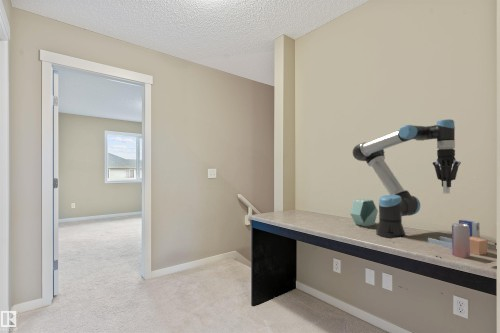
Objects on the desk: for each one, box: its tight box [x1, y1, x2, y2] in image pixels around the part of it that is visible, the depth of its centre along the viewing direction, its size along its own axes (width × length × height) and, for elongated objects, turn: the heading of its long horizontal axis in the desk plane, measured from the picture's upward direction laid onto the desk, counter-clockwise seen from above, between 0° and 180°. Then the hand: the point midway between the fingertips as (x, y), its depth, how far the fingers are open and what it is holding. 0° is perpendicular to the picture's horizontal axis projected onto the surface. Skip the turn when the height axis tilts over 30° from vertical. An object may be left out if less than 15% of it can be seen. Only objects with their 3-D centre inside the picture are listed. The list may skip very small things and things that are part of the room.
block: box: [470, 237, 489, 256], centre depth 115 cm, size 6×6×6 cm
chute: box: [427, 235, 452, 250], centre depth 125 cm, size 16×11×4 cm
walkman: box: [458, 219, 481, 239], centre depth 132 cm, size 8×3×12 cm, turn 25°
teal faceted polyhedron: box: [350, 198, 379, 227], centre depth 177 cm, size 17×8×21 cm
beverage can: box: [451, 222, 471, 259], centre depth 111 cm, size 6×6×15 cm
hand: (446, 193), depth 134 cm, fingers closed
